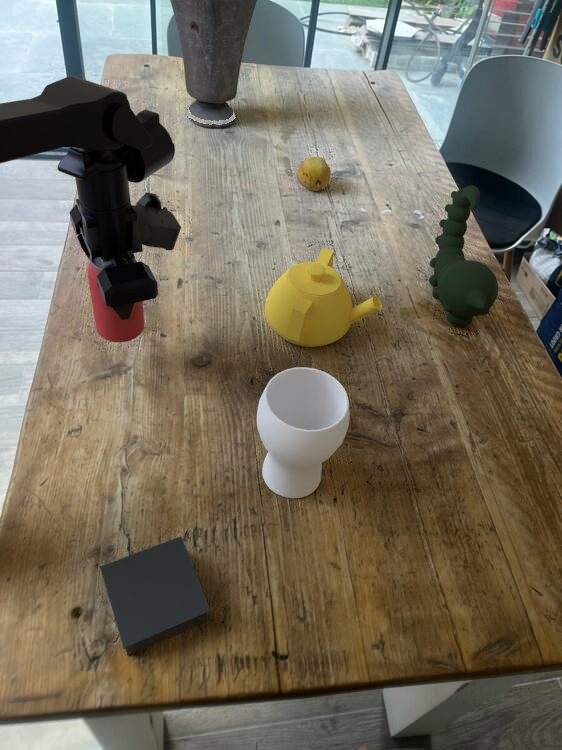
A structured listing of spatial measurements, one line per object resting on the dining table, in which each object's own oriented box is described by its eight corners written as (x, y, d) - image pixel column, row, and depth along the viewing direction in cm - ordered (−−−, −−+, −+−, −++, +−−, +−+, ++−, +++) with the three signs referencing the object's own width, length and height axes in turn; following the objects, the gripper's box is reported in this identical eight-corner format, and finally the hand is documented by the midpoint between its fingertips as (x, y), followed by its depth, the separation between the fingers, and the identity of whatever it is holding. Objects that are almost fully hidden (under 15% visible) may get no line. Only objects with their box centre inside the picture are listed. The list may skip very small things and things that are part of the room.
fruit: (339, 175, 119) (331, 151, 126) (308, 166, 117) (302, 142, 124) (326, 203, 124) (319, 179, 131) (296, 195, 122) (290, 171, 128)
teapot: (360, 382, 88) (376, 329, 80) (246, 349, 90) (250, 294, 82) (382, 304, 101) (398, 251, 93) (283, 277, 104) (289, 223, 96)
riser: (126, 658, 58) (123, 648, 56) (103, 579, 64) (99, 566, 61) (210, 622, 62) (210, 610, 59) (181, 549, 67) (181, 535, 65)
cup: (291, 427, 81) (305, 350, 70) (348, 476, 76) (373, 402, 65) (233, 469, 75) (239, 392, 64) (292, 525, 70) (308, 453, 60)
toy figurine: (412, 266, 113) (438, 347, 94) (440, 171, 100) (475, 242, 82) (460, 270, 113) (494, 352, 95) (493, 176, 101) (540, 249, 82)
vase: (228, 145, 136) (233, -3, 114) (149, 120, 141) (140, -27, 119) (269, 113, 150) (280, -24, 128) (196, 91, 155) (195, -44, 133)
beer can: (86, 335, 80) (73, 262, 71) (114, 308, 84) (104, 237, 76) (128, 351, 79) (120, 279, 70) (153, 323, 83) (149, 252, 75)
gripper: (199, 230, 64) (199, 333, 76) (148, 152, 75) (155, 253, 87) (98, 248, 60) (114, 354, 72) (59, 163, 71) (79, 267, 83)
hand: (118, 302), depth 78 cm, fingers closed on beer can, 6 cm apart
